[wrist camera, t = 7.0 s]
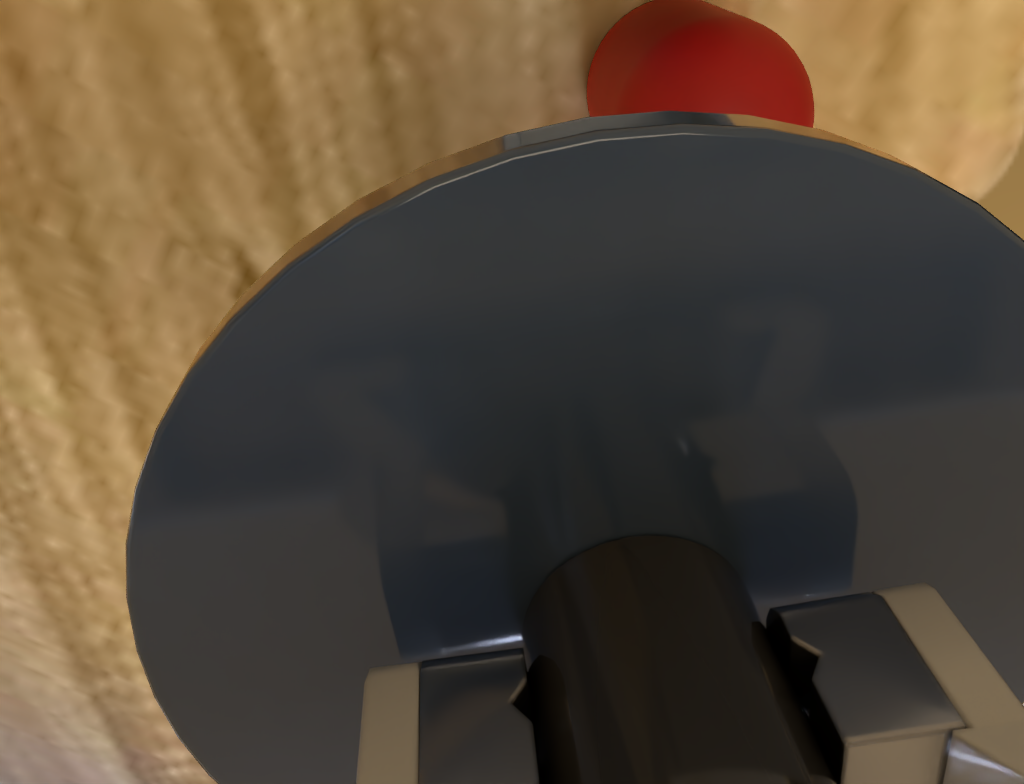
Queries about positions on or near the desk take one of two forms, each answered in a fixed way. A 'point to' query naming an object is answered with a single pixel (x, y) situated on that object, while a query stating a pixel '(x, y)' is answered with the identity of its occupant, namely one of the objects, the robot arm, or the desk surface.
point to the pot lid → (587, 448)
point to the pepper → (697, 66)
